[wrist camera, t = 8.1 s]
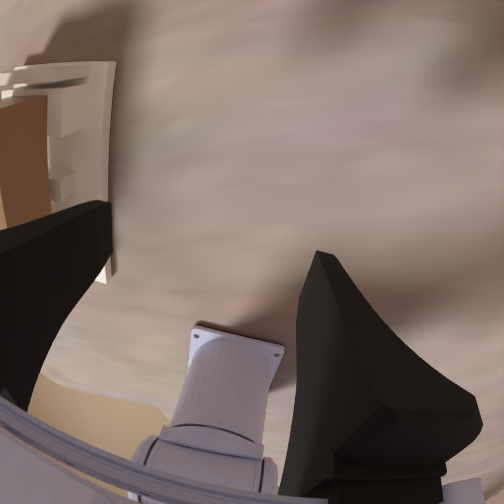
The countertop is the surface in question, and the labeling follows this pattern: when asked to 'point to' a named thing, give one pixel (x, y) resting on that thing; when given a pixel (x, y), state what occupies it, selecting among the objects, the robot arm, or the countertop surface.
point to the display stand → (73, 128)
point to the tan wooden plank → (23, 160)
